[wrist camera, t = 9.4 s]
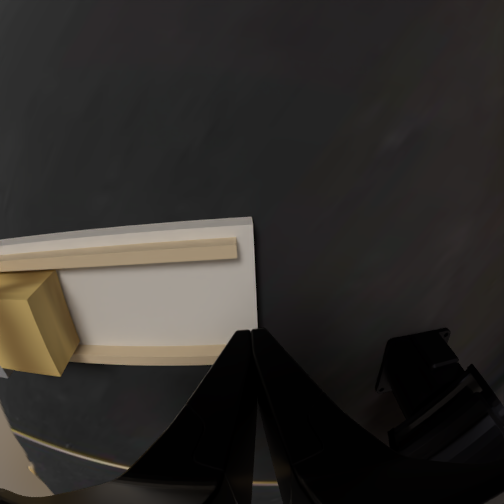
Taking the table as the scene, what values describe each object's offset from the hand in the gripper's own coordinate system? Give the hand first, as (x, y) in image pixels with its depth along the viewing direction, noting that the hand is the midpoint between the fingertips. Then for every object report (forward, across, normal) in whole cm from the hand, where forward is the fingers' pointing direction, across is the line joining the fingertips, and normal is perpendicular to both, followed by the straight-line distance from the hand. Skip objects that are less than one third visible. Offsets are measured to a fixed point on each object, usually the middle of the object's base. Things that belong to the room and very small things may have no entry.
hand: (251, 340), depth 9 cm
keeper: (+10, +16, +4) cm, 19 cm away
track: (+12, +11, +4) cm, 16 cm away
